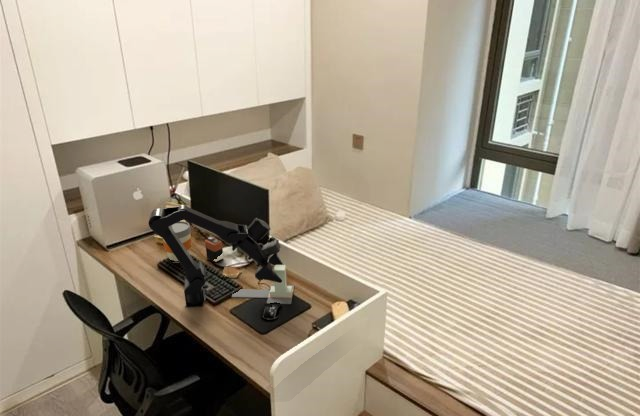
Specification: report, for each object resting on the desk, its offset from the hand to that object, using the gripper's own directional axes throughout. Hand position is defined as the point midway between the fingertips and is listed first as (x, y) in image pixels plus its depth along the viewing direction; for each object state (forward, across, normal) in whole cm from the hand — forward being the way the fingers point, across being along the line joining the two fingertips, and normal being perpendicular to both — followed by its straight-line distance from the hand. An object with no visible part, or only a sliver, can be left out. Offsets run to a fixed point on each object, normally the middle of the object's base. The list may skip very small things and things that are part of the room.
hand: (283, 275), depth 168 cm
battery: (-17, +26, +30) cm, 44 cm away
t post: (+5, 0, +7) cm, 8 cm away
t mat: (0, 0, +13) cm, 13 cm away
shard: (-11, +15, +25) cm, 31 cm away
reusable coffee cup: (-29, +27, +42) cm, 57 cm away
